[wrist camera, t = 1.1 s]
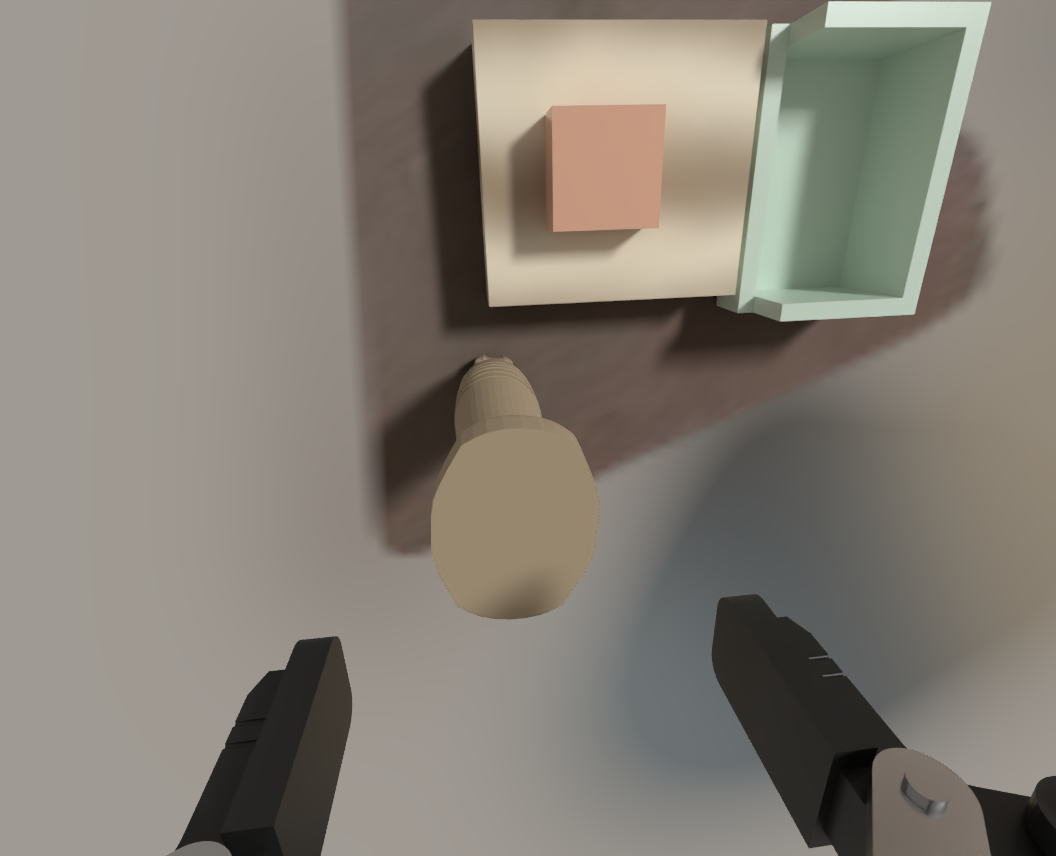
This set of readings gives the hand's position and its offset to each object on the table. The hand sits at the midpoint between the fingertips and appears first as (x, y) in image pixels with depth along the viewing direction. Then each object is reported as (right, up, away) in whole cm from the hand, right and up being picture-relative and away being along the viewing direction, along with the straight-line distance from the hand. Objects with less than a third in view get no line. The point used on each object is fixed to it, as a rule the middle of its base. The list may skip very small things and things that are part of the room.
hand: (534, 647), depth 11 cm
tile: (+3, +16, +12) cm, 20 cm away
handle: (-2, +7, +18) cm, 20 cm away
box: (+14, +17, +16) cm, 27 cm away
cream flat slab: (+4, +17, +15) cm, 23 cm away
